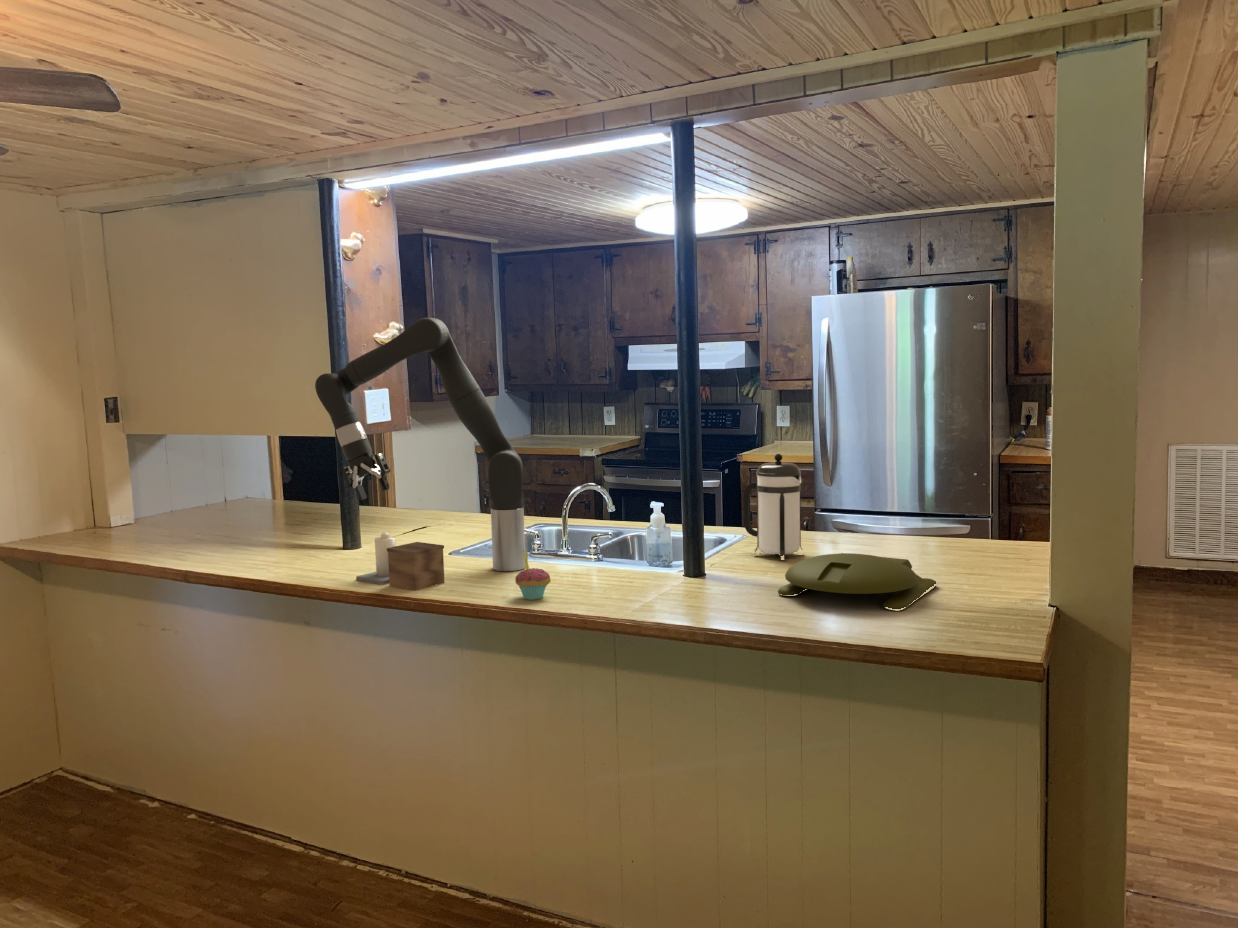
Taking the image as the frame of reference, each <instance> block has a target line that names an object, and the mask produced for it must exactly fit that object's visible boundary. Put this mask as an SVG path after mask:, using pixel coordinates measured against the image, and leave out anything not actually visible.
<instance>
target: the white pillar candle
mask: <svg viewBox="0 0 1238 928" xmlns="http://www.w3.org/2000/svg"><path fill="white" fill-rule="evenodd" d="M390 535H391V534H390V533H389V532H387V531H385V532H382V533H381V534H380V536H378V537H375V538H374V550H375V569H376V571H375V572H376V575H377V576H382V577H385V576H389V564H388V551H387V548H390V547H395V546H397V536H394V535H393V536H392V535H391V536H390Z"/></svg>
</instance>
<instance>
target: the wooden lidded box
mask: <svg viewBox="0 0 1238 928" xmlns="http://www.w3.org/2000/svg"><path fill="white" fill-rule="evenodd" d="M444 549H445V545H443V544H437V543H429V542H421V541H413V542H410V543H404V544H400V545H396V546H395V547H390V548H387V551H388V564H389V583H388V585H389V587H394V588H400V589H406V590H411V591H419V590H423V589H427V588H430V587H434V586H437V585H441V584H444V583H445V563H444V562H445V561H444ZM436 584H437V585H436Z"/></svg>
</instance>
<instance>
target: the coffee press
mask: <svg viewBox="0 0 1238 928" xmlns="http://www.w3.org/2000/svg"><path fill="white" fill-rule="evenodd" d="M774 460H775V462H772V461H771V462H764V463H762V464H761V465H759V466H758V469H757V471H755V474H756V477H757V482H752V483H749V484H748V485H746V487H745V489H744V492H743V496H742V497H743V500H742V501H743V502H742V504H743V505H742V506H743V509H742V511H743V512H742V513H743V525H744V528H745V531H746V532H747V533H748V534H749V535H750V536H752V537H756V548H755V549H754V551H755V553H756V552H757V550H759V551H760V552H763V553H762V554H767V555H775V554H780V556H783V555H785V556H786V555H792V554H795V553H794V552H799V550H800V549H801V550H803V549H802V548H803V547H802V540H801V537H802V536H801V534H802V533H801V532H802V531H801V530H802V529H801V525H802V524H801V521H802V520H801V519H802V518H801V517H802V515H801V506H802V505H801V500H802V498H801V484H802V477H801V475H802V471H801V470H800V469H799V466H798V465H796V464H795V463H793V462H785V461H782V460H783V455H782V454H780V453H777V454H775V455H774ZM754 489H755V490H756V525H757V526H756V530H755V529H754V528H753V527H752V524H751V494H752V491H753V490H754ZM791 553H792V554H791ZM780 556H779V557H780Z"/></svg>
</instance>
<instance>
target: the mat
mask: <svg viewBox="0 0 1238 928" xmlns="http://www.w3.org/2000/svg"><path fill="white" fill-rule="evenodd" d="M355 579H356V581H360V582H366V583H371V584H377V585H387V584H388V585H389V576H385V577H382V576H377V575H376V571H373V572H369V573H365V574H361V575H357V576H355Z"/></svg>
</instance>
